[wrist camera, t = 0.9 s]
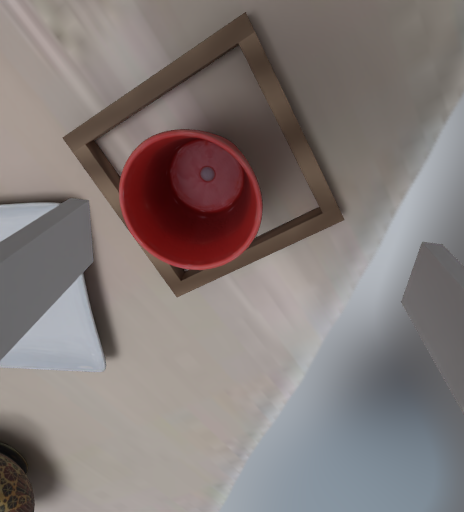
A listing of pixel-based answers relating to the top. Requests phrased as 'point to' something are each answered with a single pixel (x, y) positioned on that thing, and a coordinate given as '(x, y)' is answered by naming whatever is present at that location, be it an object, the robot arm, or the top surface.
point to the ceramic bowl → (14, 482)
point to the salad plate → (54, 315)
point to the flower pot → (190, 199)
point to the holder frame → (252, 49)
